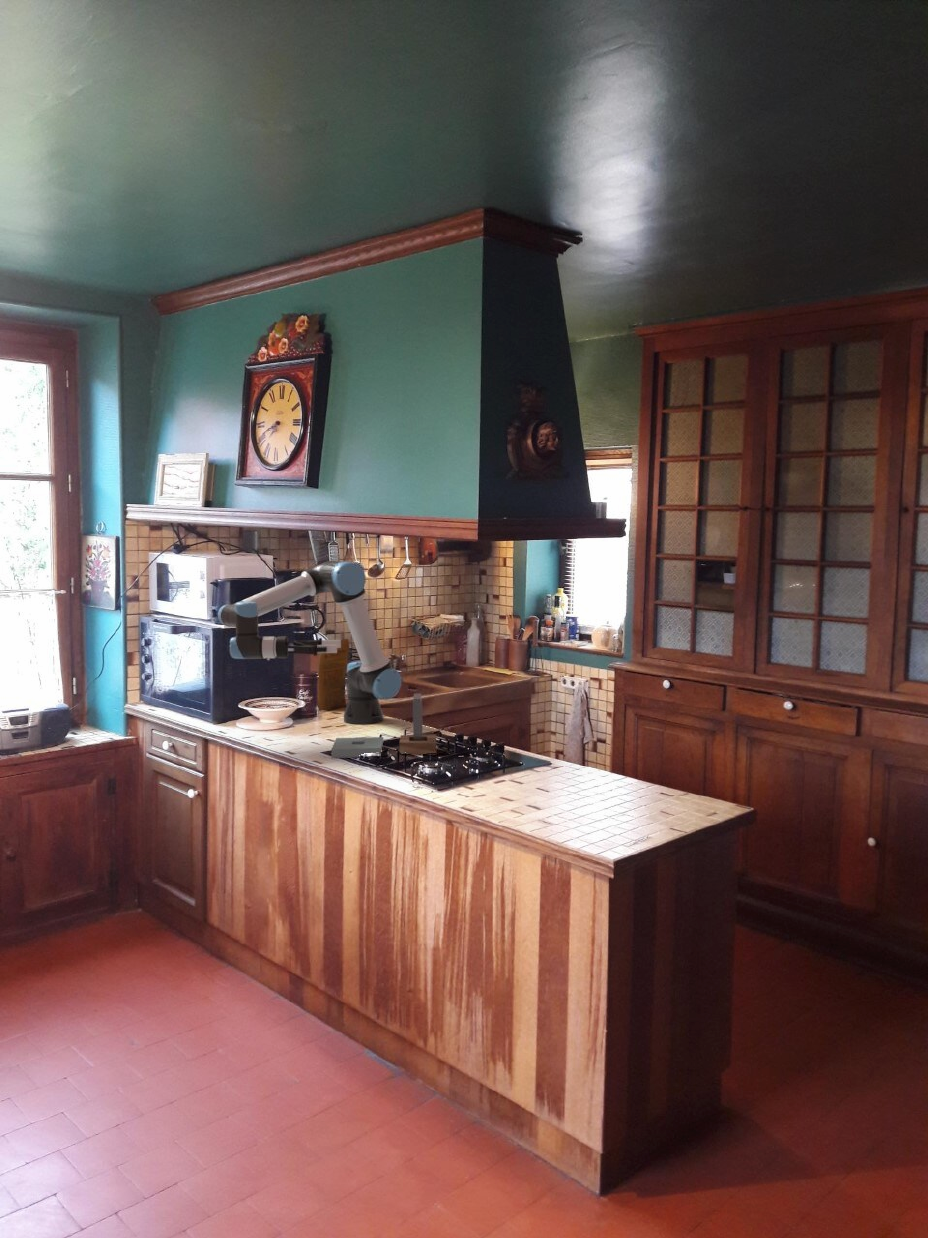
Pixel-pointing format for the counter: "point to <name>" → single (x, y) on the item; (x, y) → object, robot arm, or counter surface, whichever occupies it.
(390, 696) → the robot arm
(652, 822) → the counter surface
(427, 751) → the block
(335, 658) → the pancake mix bag
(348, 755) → the cover plate
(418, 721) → the t key
